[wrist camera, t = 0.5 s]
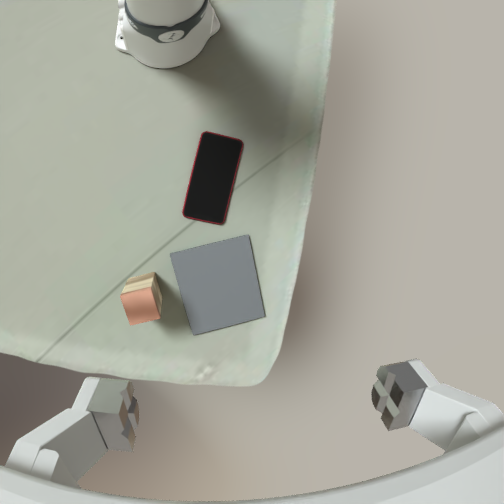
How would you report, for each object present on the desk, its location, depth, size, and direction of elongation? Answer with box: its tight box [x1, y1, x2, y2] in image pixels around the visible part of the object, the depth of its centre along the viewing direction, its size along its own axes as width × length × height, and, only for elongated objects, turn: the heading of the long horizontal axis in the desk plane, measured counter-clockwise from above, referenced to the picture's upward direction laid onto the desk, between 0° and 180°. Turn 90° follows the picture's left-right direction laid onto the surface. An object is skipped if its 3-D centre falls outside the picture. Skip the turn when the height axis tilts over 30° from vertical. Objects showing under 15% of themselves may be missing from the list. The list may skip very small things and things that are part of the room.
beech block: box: [120, 272, 162, 325], centre depth 51 cm, size 5×5×9 cm
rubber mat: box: [170, 235, 265, 335], centre depth 58 cm, size 16×14×1 cm
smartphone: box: [182, 131, 243, 224], centre depth 54 cm, size 7×1×15 cm
